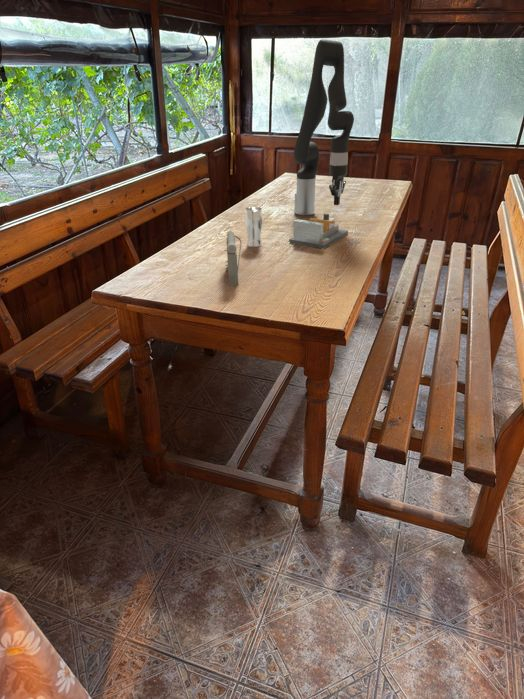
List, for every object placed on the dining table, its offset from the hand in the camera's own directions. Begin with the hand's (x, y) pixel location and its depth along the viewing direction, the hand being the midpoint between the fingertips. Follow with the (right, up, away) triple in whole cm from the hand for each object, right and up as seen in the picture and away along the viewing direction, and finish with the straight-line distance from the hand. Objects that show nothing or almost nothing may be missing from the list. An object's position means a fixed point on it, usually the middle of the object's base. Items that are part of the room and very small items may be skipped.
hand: (336, 204), depth 218 cm
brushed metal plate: (-14, -19, -14) cm, 27 cm away
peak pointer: (-7, -13, -5) cm, 16 cm away
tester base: (-8, -16, -5) cm, 19 cm away
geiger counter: (-43, -39, -44) cm, 72 cm away
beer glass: (-36, -21, -12) cm, 43 cm away
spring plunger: (-5, -12, -2) cm, 13 cm away
